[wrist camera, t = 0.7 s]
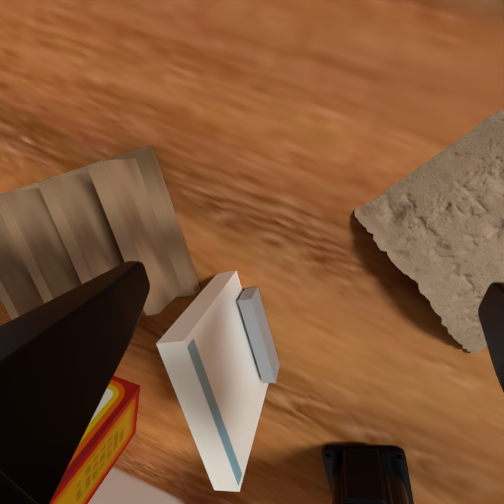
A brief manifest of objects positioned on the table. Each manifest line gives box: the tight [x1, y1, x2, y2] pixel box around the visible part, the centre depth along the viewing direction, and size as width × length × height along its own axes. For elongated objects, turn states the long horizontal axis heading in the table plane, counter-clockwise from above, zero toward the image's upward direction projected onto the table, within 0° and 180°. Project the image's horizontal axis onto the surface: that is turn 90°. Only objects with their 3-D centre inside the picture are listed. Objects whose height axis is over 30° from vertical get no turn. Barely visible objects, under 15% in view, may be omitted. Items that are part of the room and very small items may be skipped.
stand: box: [238, 287, 280, 383], centre depth 24 cm, size 7×4×2 cm, turn 15°
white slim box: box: [156, 271, 268, 492], centre depth 21 cm, size 10×2×9 cm, turn 15°
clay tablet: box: [355, 110, 504, 354], centre depth 18 cm, size 14×10×3 cm
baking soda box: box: [50, 376, 140, 504], centre depth 24 cm, size 10×6×16 cm
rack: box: [0, 146, 201, 320], centre depth 23 cm, size 11×15×4 cm
